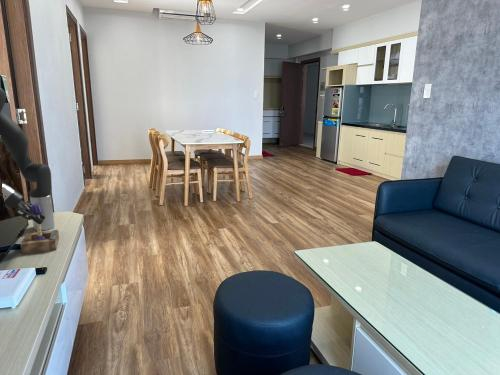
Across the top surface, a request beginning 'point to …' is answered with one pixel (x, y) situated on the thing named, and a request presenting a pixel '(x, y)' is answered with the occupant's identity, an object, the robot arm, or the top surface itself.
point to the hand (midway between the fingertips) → (42, 220)
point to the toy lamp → (37, 211)
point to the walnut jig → (40, 242)
